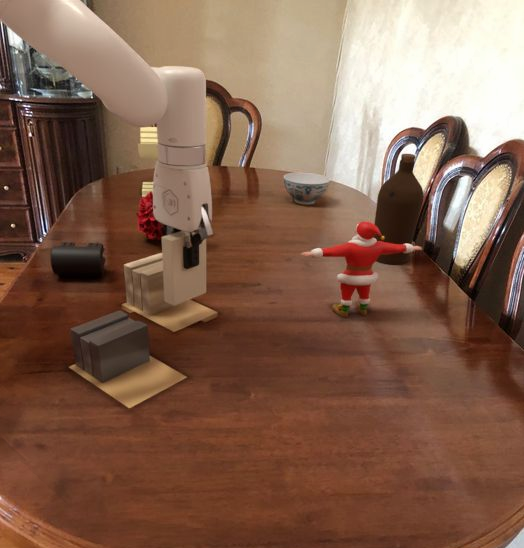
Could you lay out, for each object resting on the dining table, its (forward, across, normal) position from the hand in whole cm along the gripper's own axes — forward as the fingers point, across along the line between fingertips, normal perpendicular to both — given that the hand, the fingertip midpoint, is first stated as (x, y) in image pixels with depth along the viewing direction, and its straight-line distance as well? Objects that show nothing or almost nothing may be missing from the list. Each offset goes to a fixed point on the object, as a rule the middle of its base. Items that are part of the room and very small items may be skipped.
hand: (184, 263), depth 92 cm
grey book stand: (+11, +7, -19) cm, 23 cm away
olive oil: (+12, +10, +60) cm, 62 cm away
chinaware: (+12, -35, +85) cm, 92 cm away
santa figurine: (+12, +20, +26) cm, 35 cm away
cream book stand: (+11, -5, 0) cm, 12 cm away
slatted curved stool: (+12, -71, +57) cm, 91 cm away
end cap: (+12, -31, -2) cm, 33 cm away
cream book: (+7, 0, 0) cm, 7 cm away
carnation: (+12, -42, +33) cm, 54 cm away
